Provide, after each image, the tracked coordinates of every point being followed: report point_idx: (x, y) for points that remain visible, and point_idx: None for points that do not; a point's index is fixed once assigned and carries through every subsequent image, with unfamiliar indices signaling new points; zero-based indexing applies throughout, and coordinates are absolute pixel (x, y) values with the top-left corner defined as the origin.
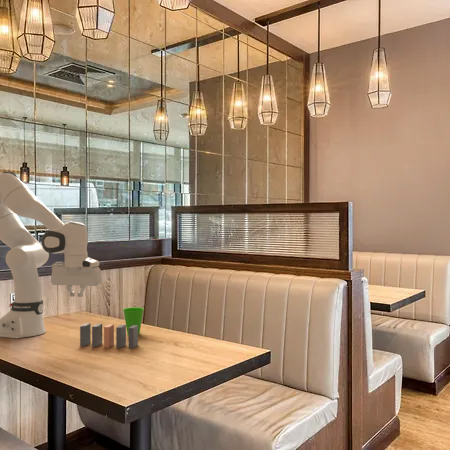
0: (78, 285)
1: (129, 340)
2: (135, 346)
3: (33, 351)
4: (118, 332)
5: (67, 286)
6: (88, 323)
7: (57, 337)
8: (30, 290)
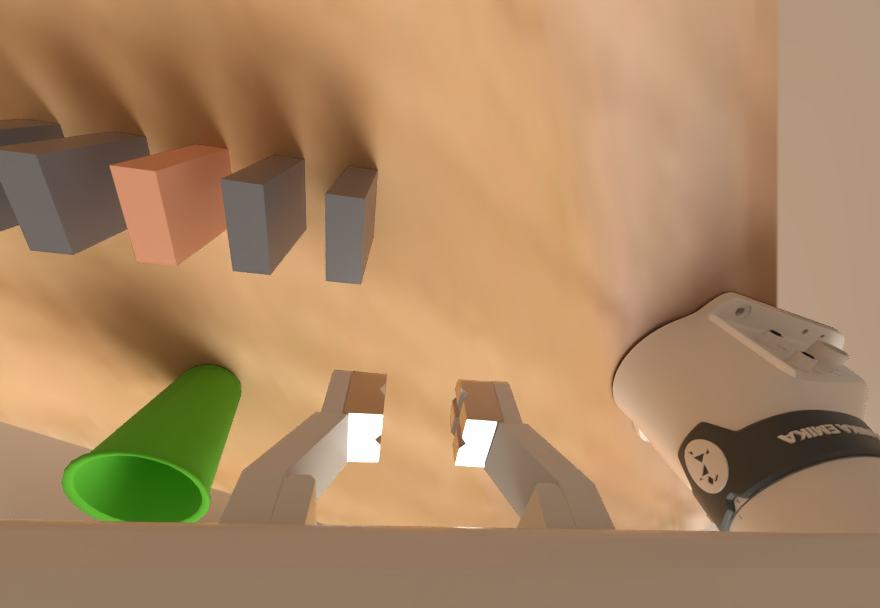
0: (327, 525)
1: (4, 127)
2: None
3: (612, 43)
4: (50, 146)
5: (589, 511)
6: (339, 277)
7: (544, 322)
8: None
